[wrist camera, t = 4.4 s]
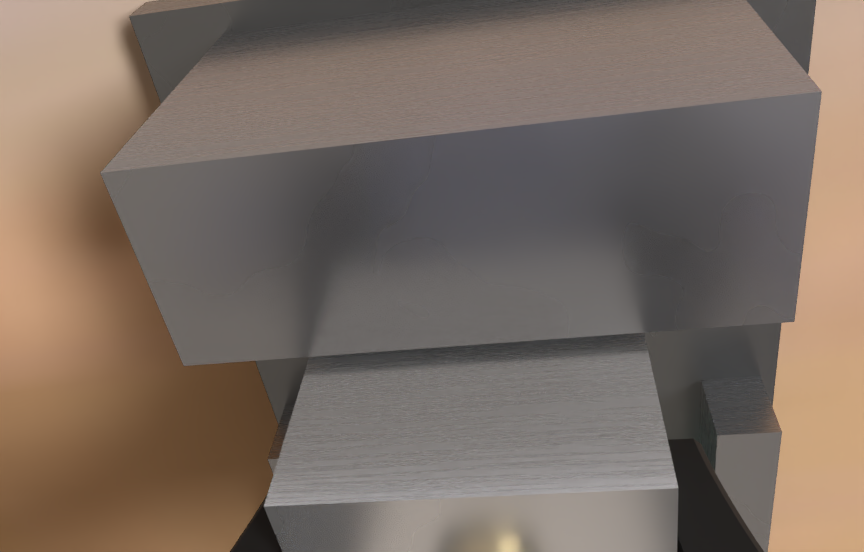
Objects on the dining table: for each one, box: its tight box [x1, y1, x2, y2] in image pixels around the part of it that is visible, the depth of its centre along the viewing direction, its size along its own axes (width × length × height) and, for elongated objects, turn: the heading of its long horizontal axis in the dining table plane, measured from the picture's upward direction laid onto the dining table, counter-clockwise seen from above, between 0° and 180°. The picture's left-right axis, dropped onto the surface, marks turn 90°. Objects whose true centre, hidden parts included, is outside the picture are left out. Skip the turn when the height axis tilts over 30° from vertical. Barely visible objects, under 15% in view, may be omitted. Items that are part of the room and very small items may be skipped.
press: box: [100, 0, 822, 552], centre depth 16 cm, size 18×11×6 cm, turn 9°
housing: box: [264, 333, 678, 552], centre depth 11 cm, size 4×4×5 cm
